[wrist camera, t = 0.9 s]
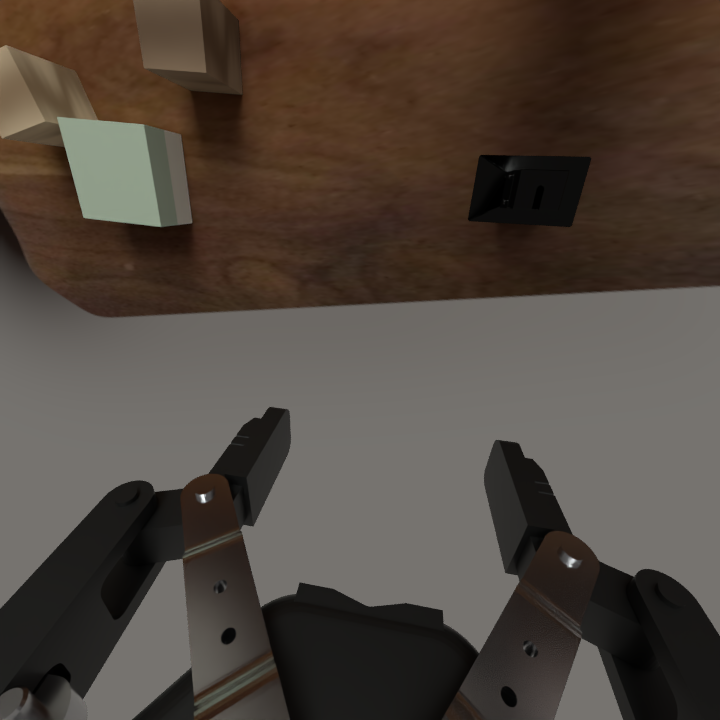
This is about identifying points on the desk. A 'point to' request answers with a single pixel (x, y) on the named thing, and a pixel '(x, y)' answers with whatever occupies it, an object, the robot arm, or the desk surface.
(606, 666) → the robot arm
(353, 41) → the desk surface
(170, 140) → the brick base
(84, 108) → the brick
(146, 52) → the walnut brick
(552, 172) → the black angular block
